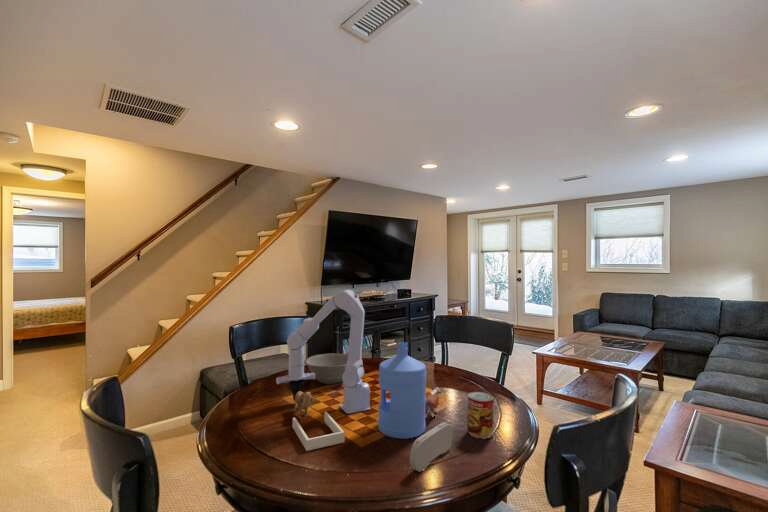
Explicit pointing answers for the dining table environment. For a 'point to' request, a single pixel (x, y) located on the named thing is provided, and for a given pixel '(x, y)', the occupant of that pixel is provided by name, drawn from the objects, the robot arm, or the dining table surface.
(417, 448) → the grey rounded slab
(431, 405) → the bull figurine
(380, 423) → the water jug
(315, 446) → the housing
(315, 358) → the ceramic bowl
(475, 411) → the canned food
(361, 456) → the dining table surface
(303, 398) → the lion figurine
